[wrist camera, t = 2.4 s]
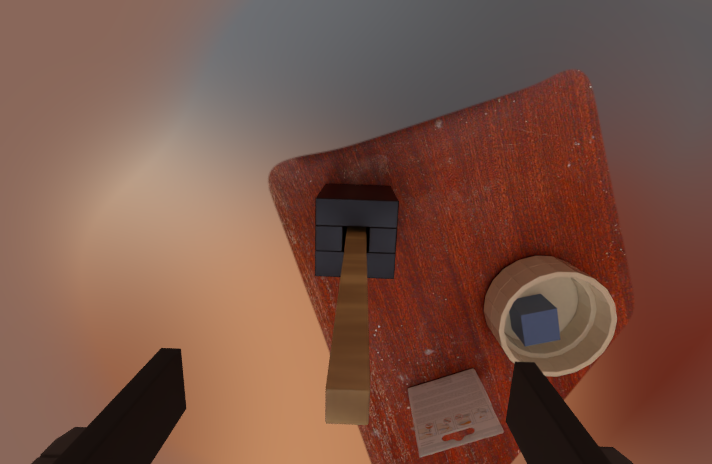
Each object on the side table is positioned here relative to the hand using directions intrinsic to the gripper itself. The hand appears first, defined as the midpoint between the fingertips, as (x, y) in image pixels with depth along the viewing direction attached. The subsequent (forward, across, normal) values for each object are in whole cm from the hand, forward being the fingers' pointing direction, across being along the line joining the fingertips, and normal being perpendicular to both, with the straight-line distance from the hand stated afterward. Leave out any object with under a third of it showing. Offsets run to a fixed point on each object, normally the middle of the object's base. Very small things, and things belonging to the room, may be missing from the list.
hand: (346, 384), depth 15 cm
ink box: (+31, +12, -22) cm, 39 cm away
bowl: (+30, +22, -10) cm, 39 cm away
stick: (+30, 0, +1) cm, 30 cm away
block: (+30, +21, -11) cm, 38 cm away
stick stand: (+30, 0, 0) cm, 30 cm away
